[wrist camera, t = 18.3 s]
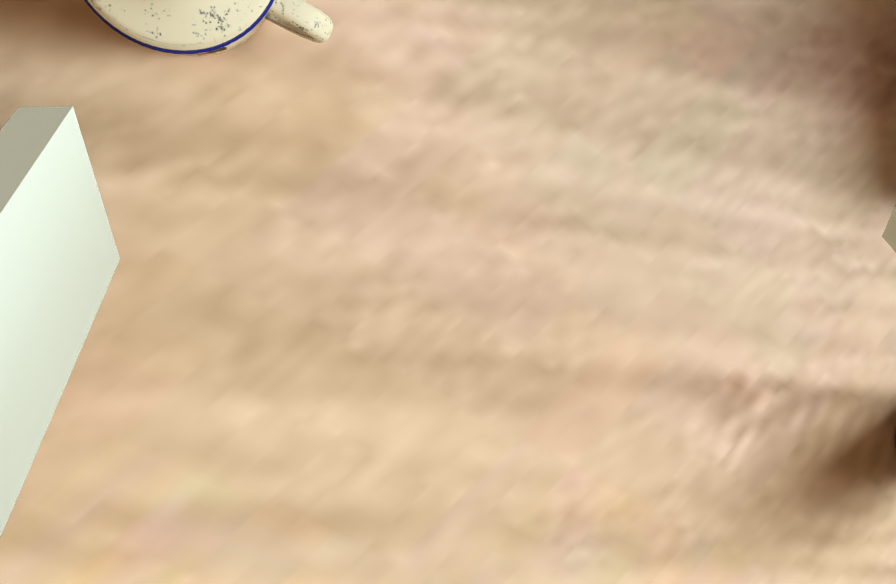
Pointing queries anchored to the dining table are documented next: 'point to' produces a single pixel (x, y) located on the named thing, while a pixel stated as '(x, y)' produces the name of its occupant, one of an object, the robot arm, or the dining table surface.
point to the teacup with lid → (207, 22)
